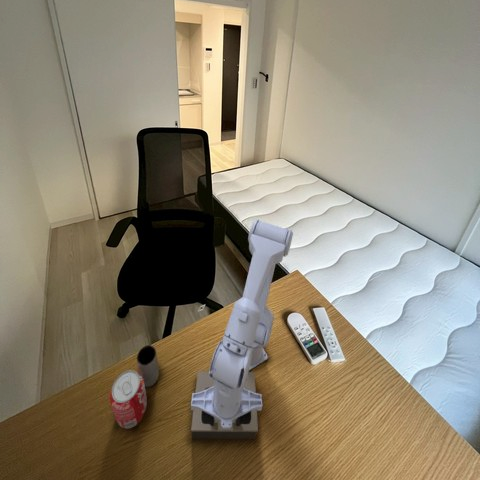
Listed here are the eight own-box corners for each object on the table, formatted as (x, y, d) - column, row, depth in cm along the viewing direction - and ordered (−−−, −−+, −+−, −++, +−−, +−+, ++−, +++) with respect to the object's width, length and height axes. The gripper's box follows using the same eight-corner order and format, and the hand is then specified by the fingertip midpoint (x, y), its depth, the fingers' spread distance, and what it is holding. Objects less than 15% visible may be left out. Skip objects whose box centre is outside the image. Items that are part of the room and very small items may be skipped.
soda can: (140, 384, 64) (135, 359, 58) (153, 411, 59) (148, 386, 54) (111, 409, 59) (103, 384, 54) (123, 440, 54) (115, 416, 49)
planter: (137, 376, 65) (133, 354, 61) (153, 362, 68) (150, 340, 64) (146, 391, 62) (142, 370, 58) (162, 376, 65) (159, 354, 61)
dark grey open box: (255, 439, 56) (257, 429, 54) (191, 438, 55) (191, 428, 53) (252, 384, 65) (254, 373, 63) (197, 383, 65) (197, 372, 62)
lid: (257, 432, 53) (259, 422, 52) (190, 431, 53) (190, 422, 51) (254, 373, 63) (255, 363, 61) (197, 372, 62) (197, 362, 60)
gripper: (187, 416, 44) (189, 446, 50) (266, 417, 45) (259, 446, 51) (193, 369, 51) (194, 401, 56) (262, 370, 51) (256, 401, 57)
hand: (224, 419), depth 54 cm, fingers closed on lid, 5 cm apart
